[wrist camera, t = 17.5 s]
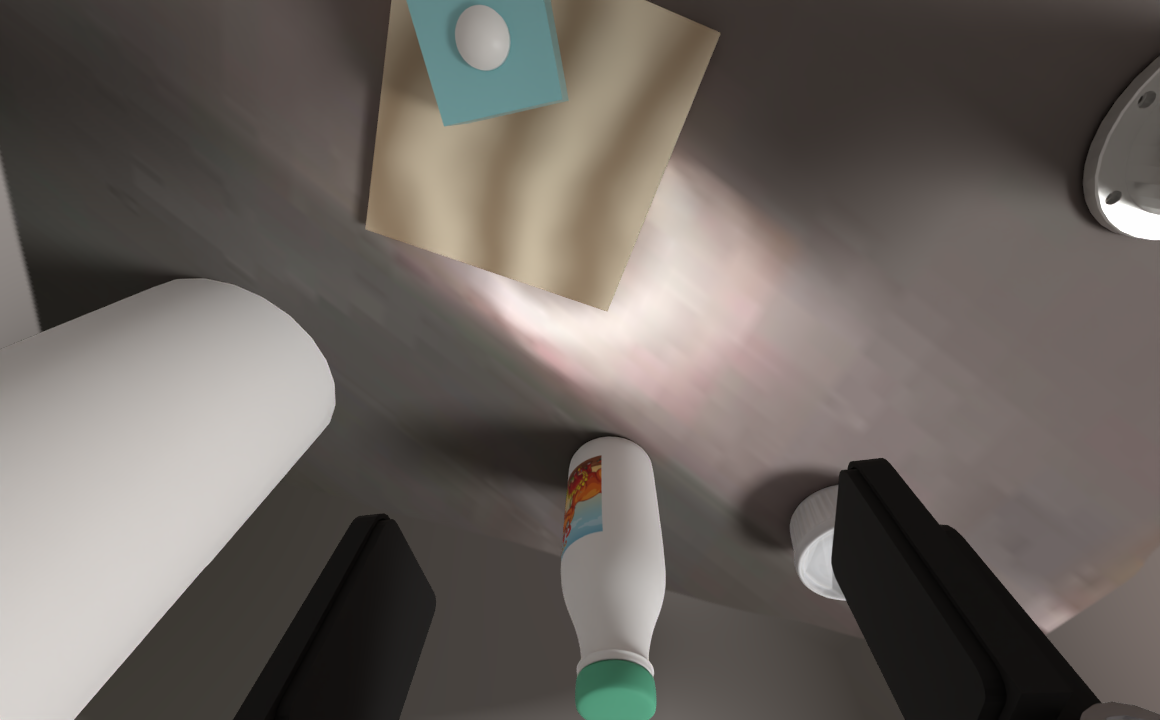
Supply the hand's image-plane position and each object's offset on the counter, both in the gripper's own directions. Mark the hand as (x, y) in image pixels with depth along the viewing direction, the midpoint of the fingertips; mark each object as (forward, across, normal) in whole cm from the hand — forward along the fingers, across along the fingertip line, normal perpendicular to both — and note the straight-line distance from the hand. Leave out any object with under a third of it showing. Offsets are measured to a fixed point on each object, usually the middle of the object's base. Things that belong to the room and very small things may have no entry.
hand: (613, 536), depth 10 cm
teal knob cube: (+23, +4, -12) cm, 26 cm away
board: (+26, +4, -7) cm, 28 cm away
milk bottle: (+26, +3, +21) cm, 34 cm away
